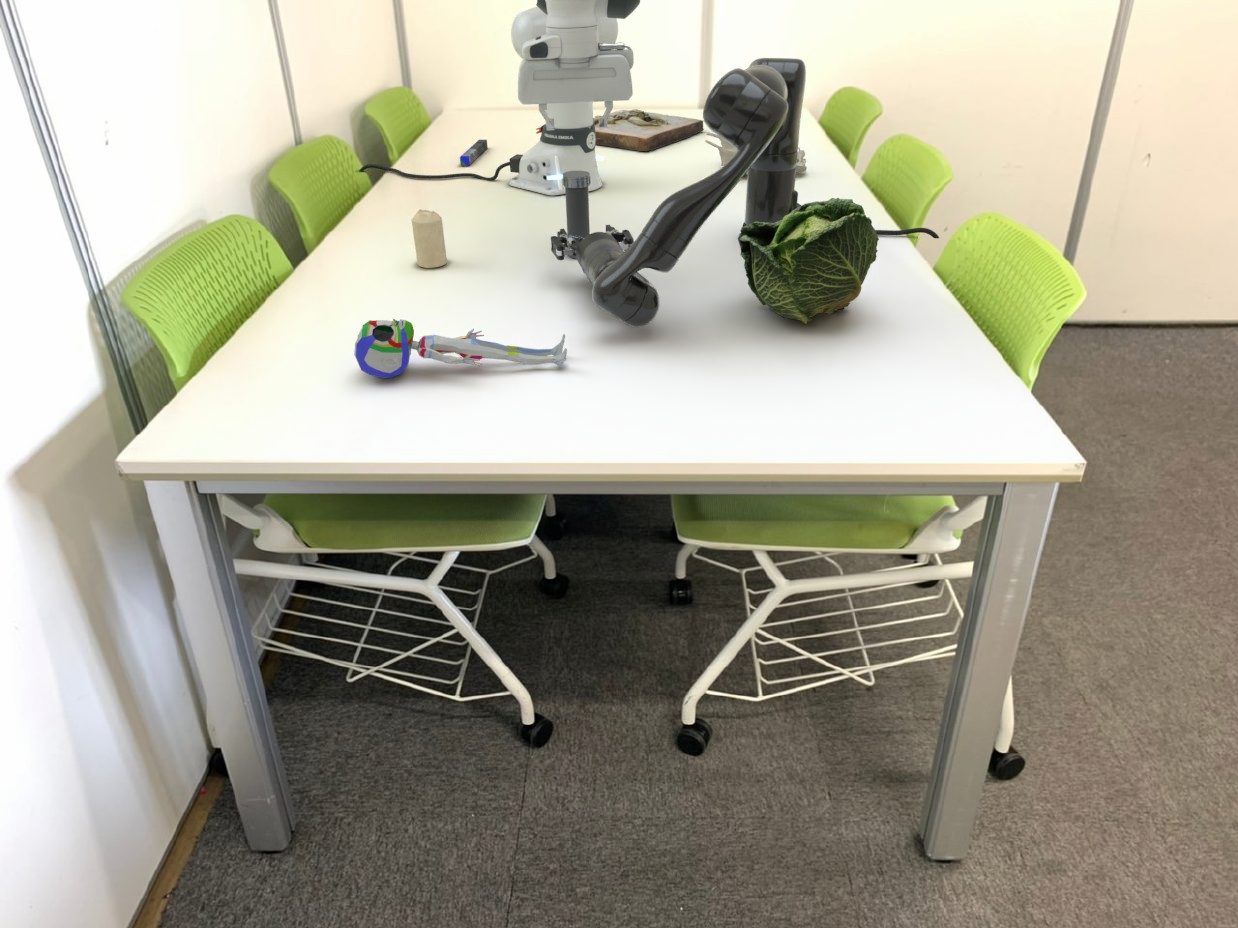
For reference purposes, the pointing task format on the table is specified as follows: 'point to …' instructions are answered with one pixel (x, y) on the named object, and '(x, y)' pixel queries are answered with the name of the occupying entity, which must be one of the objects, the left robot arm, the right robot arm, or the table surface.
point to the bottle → (577, 212)
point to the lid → (576, 179)
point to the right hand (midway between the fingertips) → (584, 232)
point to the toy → (435, 349)
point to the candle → (429, 239)
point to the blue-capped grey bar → (473, 152)
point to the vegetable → (810, 258)
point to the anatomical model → (729, 151)
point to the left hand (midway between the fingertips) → (576, 128)
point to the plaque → (644, 129)
